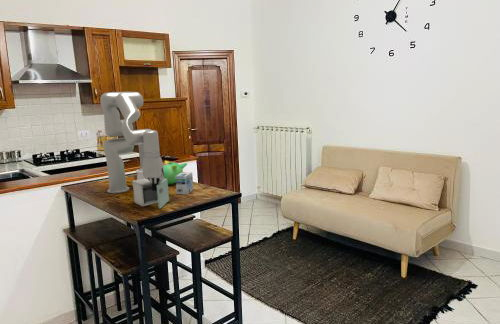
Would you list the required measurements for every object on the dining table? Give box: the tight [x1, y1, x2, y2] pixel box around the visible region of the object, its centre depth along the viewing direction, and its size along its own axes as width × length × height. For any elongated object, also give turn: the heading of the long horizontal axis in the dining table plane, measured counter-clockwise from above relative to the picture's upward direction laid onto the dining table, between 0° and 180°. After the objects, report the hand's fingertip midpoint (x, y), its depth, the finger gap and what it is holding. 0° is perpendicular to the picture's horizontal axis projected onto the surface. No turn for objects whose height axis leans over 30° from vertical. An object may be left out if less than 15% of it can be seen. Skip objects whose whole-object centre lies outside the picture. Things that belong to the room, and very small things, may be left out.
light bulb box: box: [175, 171, 194, 195], centre depth 218 cm, size 11×7×11 cm, turn 168°
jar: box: [136, 167, 145, 180], centre depth 215 cm, size 11×10×15 cm
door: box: [157, 179, 170, 209], centre depth 195 cm, size 2×14×12 cm, turn 174°
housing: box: [132, 177, 164, 207], centre depth 201 cm, size 10×14×12 cm
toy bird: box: [163, 160, 188, 185], centre depth 239 cm, size 18×17×15 cm
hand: (155, 190), depth 192 cm, fingers closed
